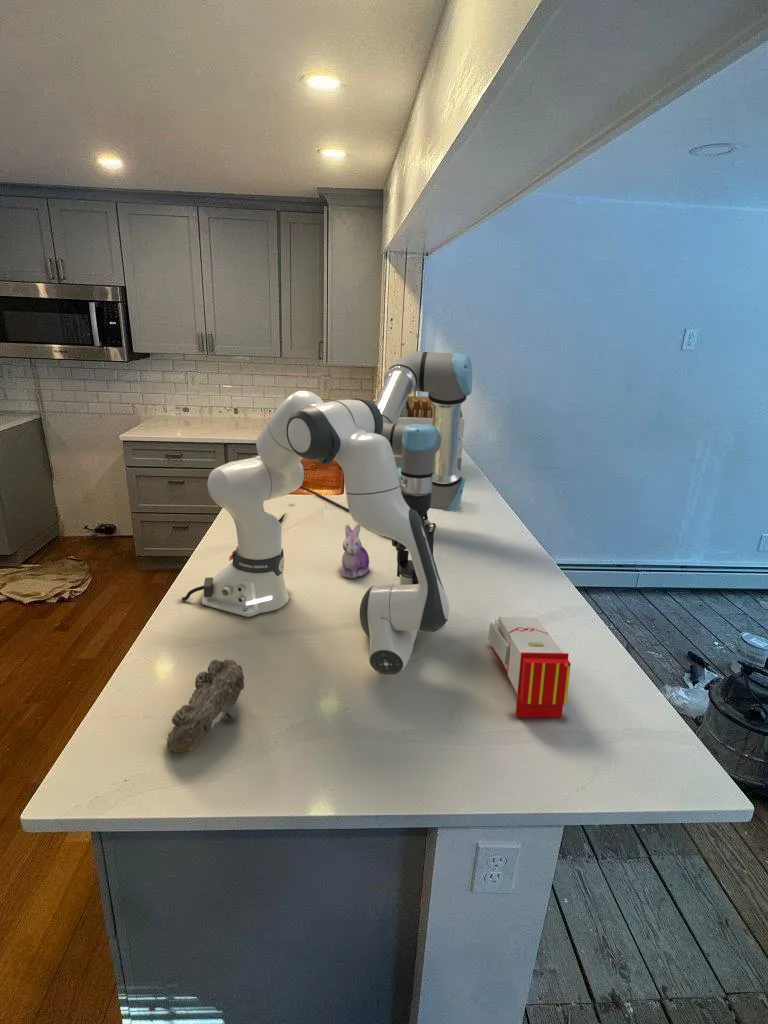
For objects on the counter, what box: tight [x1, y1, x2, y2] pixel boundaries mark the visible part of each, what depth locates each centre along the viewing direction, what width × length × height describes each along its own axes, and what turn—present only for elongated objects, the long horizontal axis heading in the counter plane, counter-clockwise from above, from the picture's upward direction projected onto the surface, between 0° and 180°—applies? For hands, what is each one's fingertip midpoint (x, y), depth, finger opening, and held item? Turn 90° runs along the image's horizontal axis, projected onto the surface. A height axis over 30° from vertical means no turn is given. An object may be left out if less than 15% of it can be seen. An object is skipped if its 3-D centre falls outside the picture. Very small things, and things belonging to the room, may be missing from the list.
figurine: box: [341, 523, 370, 579], centre depth 167 cm, size 9×10×15 cm
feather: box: [278, 513, 286, 523], centre depth 210 cm, size 2×28×2 cm
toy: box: [487, 616, 572, 718], centre depth 123 cm, size 12×13×30 cm
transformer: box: [394, 395, 465, 472], centre depth 268 cm, size 34×33×41 cm
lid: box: [399, 559, 414, 576], centre depth 140 cm, size 6×6×2 cm
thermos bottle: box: [398, 573, 413, 585], centre depth 142 cm, size 5×5×15 cm
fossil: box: [166, 658, 245, 754], centre depth 106 cm, size 22×10×15 cm
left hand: (409, 596), depth 143 cm, fingers closed on thermos bottle, 5 cm apart
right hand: (409, 580), depth 141 cm, fingers closed on lid, 6 cm apart
